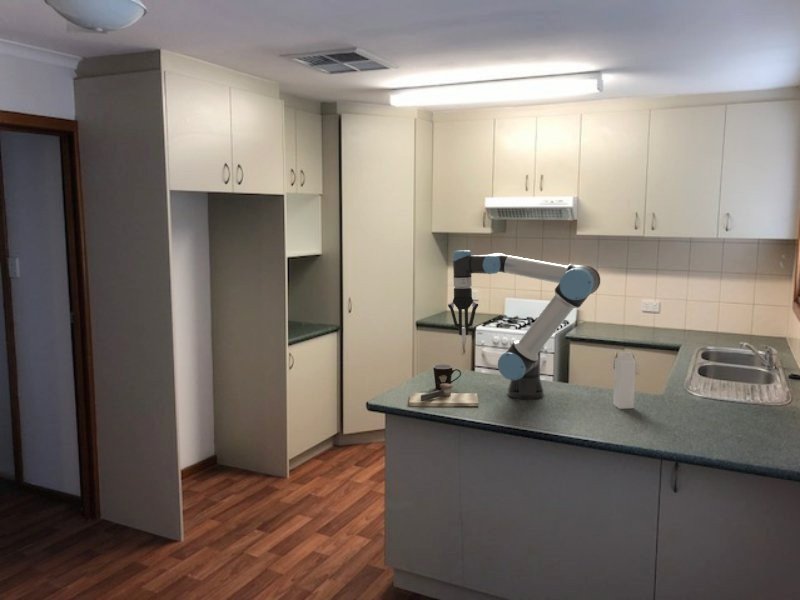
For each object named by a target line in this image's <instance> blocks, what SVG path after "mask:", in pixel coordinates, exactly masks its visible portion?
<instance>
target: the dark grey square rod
mask: <svg viewBox="0 0 800 600" xmlns="http://www.w3.org/2000/svg"><path fill="white" fill-rule="evenodd" d="M440 388H441V390H435V391H431V392H426V393H427V394H423V395H421V401H422V402H423V401H426V400H430V399H434V398H437V397H441V396H451V393H452V388H453V384H452V383H451V384H440Z"/></svg>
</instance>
